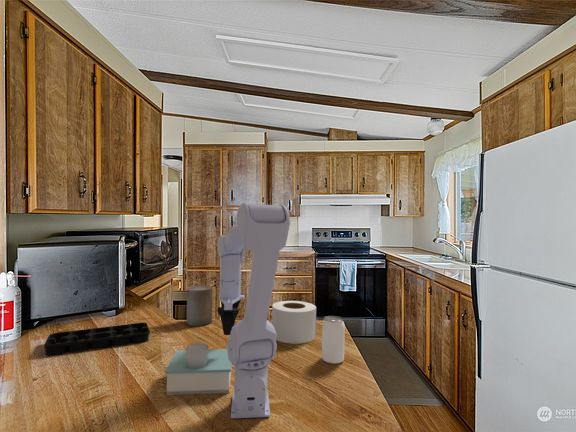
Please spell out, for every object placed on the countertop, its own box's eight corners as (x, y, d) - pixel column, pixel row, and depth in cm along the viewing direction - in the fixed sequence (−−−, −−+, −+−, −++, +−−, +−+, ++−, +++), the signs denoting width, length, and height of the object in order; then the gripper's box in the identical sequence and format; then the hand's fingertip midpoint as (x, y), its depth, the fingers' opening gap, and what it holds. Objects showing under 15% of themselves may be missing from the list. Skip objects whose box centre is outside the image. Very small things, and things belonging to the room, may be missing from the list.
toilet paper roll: (321, 333, 121) (322, 303, 121) (304, 347, 107) (305, 313, 107) (283, 326, 128) (284, 298, 128) (263, 338, 114) (263, 307, 114)
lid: (231, 372, 77) (231, 369, 77) (164, 373, 75) (164, 371, 75) (233, 351, 89) (233, 348, 89) (176, 352, 88) (177, 350, 88)
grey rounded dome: (210, 365, 79) (211, 348, 79) (188, 370, 76) (189, 353, 76) (204, 357, 83) (204, 341, 83) (182, 362, 80) (183, 345, 80)
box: (228, 393, 77) (229, 371, 77) (166, 395, 76) (167, 373, 76) (231, 370, 89) (232, 351, 89) (177, 371, 88) (178, 352, 88)
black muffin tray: (39, 346, 104) (40, 334, 104) (140, 327, 124) (140, 317, 124) (46, 365, 91) (46, 351, 91) (157, 341, 110) (157, 329, 110)
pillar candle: (215, 319, 135) (215, 282, 135) (206, 326, 125) (207, 286, 125) (192, 318, 136) (192, 281, 136) (182, 325, 126) (182, 286, 126)
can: (326, 365, 93) (327, 322, 94) (318, 356, 100) (319, 316, 100) (347, 363, 95) (348, 321, 95) (338, 354, 101) (339, 314, 102)
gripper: (244, 284, 84) (243, 339, 84) (245, 275, 98) (244, 321, 98) (216, 284, 83) (214, 339, 83) (221, 275, 97) (220, 322, 97)
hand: (229, 329), depth 90 cm, fingers open, 7 cm apart
